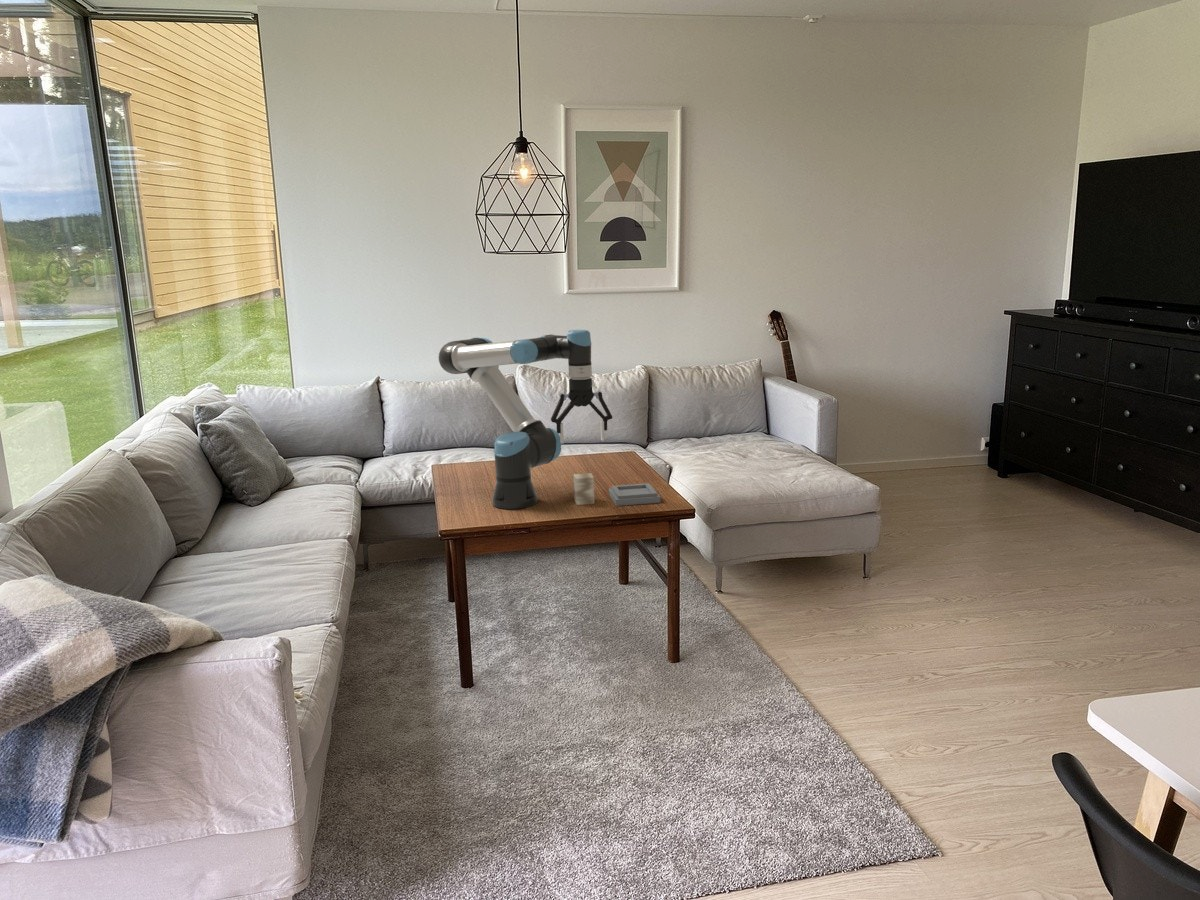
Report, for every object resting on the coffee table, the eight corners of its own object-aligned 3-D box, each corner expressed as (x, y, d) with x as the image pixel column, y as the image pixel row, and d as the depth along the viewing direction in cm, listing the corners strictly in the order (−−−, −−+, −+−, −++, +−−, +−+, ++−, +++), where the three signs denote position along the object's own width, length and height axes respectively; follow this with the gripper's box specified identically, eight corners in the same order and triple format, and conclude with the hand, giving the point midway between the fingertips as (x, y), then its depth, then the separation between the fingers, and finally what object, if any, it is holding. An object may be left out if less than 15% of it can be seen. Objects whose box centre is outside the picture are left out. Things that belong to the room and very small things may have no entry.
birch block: (576, 504, 291) (575, 478, 289) (574, 500, 296) (573, 474, 294) (594, 503, 291) (593, 477, 289) (592, 498, 297) (591, 473, 295)
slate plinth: (615, 505, 288) (615, 497, 287) (608, 493, 302) (608, 485, 302) (660, 502, 290) (660, 493, 289) (651, 490, 304) (651, 482, 304)
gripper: (543, 381, 279) (546, 446, 284) (620, 377, 283) (621, 441, 288) (541, 378, 287) (543, 441, 291) (616, 374, 290) (617, 436, 295)
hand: (582, 441), depth 290 cm, fingers open, 13 cm apart
